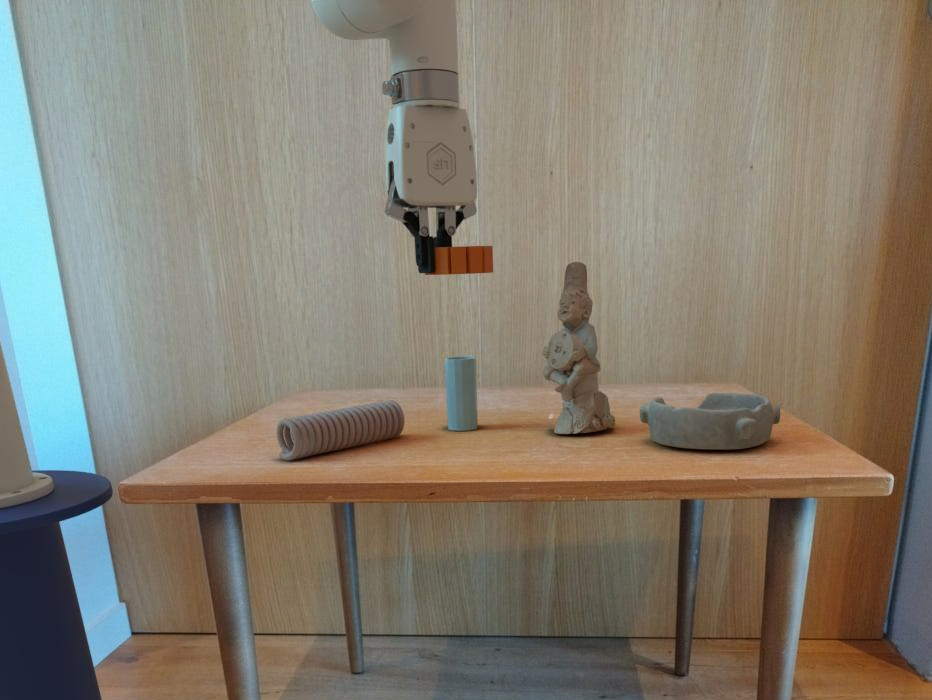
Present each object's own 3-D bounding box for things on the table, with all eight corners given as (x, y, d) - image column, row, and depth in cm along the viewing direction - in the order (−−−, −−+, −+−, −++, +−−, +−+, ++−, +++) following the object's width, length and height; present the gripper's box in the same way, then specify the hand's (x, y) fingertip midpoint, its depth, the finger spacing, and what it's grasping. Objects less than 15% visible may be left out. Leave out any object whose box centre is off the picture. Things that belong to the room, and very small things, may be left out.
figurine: (572, 423, 115) (575, 261, 107) (626, 428, 110) (633, 259, 101) (533, 433, 109) (532, 263, 100) (587, 440, 104) (591, 261, 95)
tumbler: (457, 432, 111) (454, 360, 107) (442, 427, 114) (439, 358, 111) (483, 428, 113) (481, 357, 109) (467, 424, 116) (465, 355, 112)
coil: (383, 399, 109) (266, 420, 97) (407, 398, 106) (290, 419, 94) (388, 436, 111) (273, 460, 99) (412, 436, 108) (297, 461, 96)
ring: (446, 274, 100) (445, 246, 99) (413, 275, 106) (411, 248, 105) (505, 272, 104) (505, 245, 103) (470, 272, 110) (469, 247, 109)
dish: (624, 443, 101) (626, 400, 99) (697, 427, 109) (699, 387, 107) (727, 460, 91) (731, 413, 89) (798, 442, 99) (804, 398, 97)
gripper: (377, 85, 89) (390, 275, 97) (502, 94, 97) (505, 270, 104) (349, 97, 95) (363, 275, 103) (468, 105, 103) (473, 270, 110)
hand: (434, 271), depth 103 cm, fingers closed on ring, 1 cm apart
